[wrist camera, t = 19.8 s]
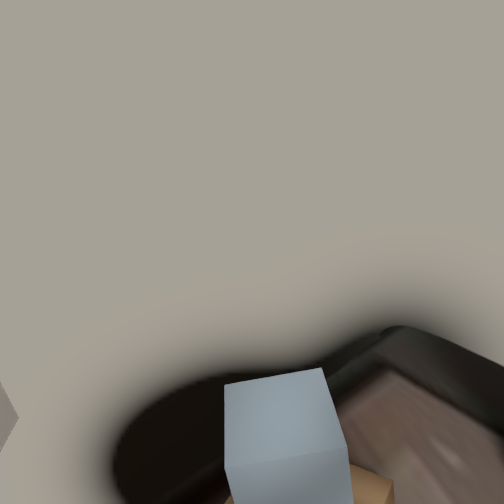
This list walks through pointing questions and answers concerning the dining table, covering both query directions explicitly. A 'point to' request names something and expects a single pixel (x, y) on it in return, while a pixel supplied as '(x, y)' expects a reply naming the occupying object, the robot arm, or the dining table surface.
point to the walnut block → (365, 488)
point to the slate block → (285, 442)
